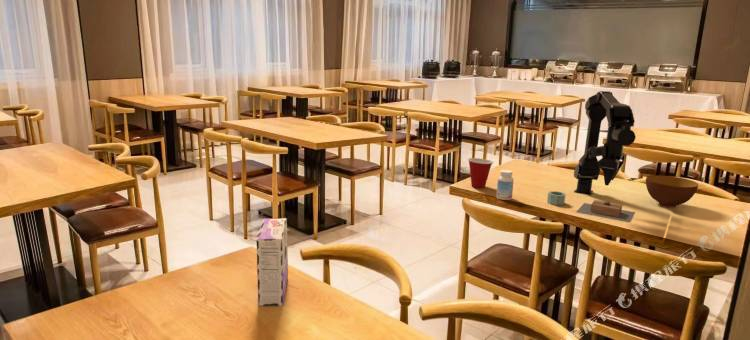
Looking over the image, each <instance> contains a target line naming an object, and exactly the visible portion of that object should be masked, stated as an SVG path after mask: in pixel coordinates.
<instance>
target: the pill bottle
mask: <svg viewBox="0 0 750 340" xmlns="http://www.w3.org/2000/svg"><path fill="white" fill-rule="evenodd" d="M499 175H500V176H498V178H497V186H496V198H497V199H498V200H503V201H510V200H513V190H514V177H513V171H512V170H509V169H501V170H500V174H499Z"/></svg>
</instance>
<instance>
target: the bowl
mask: <svg viewBox="0 0 750 340" xmlns="http://www.w3.org/2000/svg"><path fill="white" fill-rule="evenodd" d="M645 186H646V190H647V192H648V194H649V195H650V197H651V198H652V199H653V200H654V201H656V202H657V203H658V205H659V206H661V207H663V208H669V209H674V208H677V206H680V205H683V204H685V203H688V201H690V200H691V199H692V198H693V197H694V196H695V194H696V192H697V190H698V187H699V183H697V182H696V181H694V180H691V179H688V178H682V177H678V176H671V175H662V174H661V175H657V174H656V175H655V174H654V175H653V174H652V175H648V176H646V178H645Z"/></svg>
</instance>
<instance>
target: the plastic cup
mask: <svg viewBox="0 0 750 340" xmlns="http://www.w3.org/2000/svg"><path fill="white" fill-rule="evenodd" d="M467 160H468V165H469V173H470V175H469V176H470V177H469V178H470V182H471V183H470V184H471V187H472V188H476V189H484V188H486V185H487V181H488V178H489V174H490V170H491V167H492V165H493V164H494V161H493V160H490V159H486V158H480V157H479V158H477V157H470V158H468V159H467Z"/></svg>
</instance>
